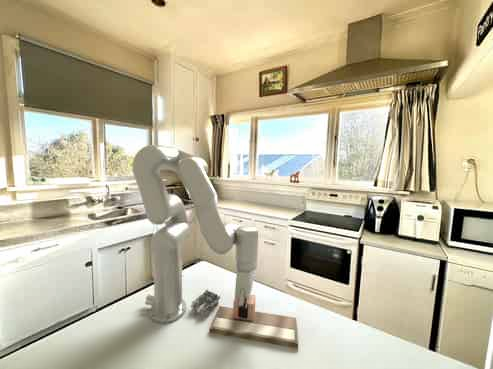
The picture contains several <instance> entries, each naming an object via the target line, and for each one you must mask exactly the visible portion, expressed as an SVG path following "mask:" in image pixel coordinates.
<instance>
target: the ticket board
mask: <svg viewBox="0 0 493 369" xmlns="http://www.w3.org/2000/svg"><path fill="white" fill-rule="evenodd" d="M208 329H209V330H208V332H209V334H214V335H220V336H221V335H222V336H227V337H232V338H238V339H244V340H248V341H255V342H260V343H266V344H273V345H278V346H284V347H287V348H288V347H289V348H296V349H299V338H298V337H299V334H298V325H297V317H294V316H293V317H292V316H287V315H281V314H274V313H267V312H261V311H255V314H254V319H253V321H250V320H244V319H238V318H233V307H229V306H220V305H219V306H218V308H217V310H216V313H215V315H214V317H213V319H212V321H211V324H210V326H209V328H208Z"/></svg>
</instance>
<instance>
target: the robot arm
mask: <svg viewBox="0 0 493 369" xmlns="http://www.w3.org/2000/svg"><path fill="white" fill-rule="evenodd" d="M131 166H132V167H131V168H132V173H133V176H134V179H135V182H136V184H137V187H138V190H139V194H140V197H141V200H142V204H143V207H144V212H145V214H146V217H147V219H148V221H149V222H150V223H151V224H152V225H155V226H157V225H163V224H164V225H165V226H162V227H161V228H160V229H158V230H157V231H156V232H155V233H154V234H153V236H152V238H151V240H150V249H151V253H152V259H153V294H148V295H146V299H145V303H144V304H145V305H147V306H151V307H150V309H149V317H150V319H151V320H152V321H153V322H156V323H159V324H160V323H161V324H165V323H171V322H173V321H174V322H175V321H176V320H178V319H179V318H181V317H183V315H184V314H185V312H186V310H187V302H186V301H185V300H184V299H183V260H182V259H183V258H182V255H181V247H182V246H184V244H185V243H186V242H187V241H188V240H189V238H190V236H191V233H192V232H191V231H192V230H191V225H190V222H189V218H188V214H187V212H186V207H185V204H184V201H183V200H182V199H181V198H180V197H179V196H178V195H176V194H174V193H169V192H168V190H167V186H166V182H165V181H164V178H163V177H162V176H161V174H160V171H167V170H169V171H172V172H174V173H177V175H178V177H179V179H180V180H181V183H182V185H183V187H184V188H185V190H186V192H187V194H188V196H189V198H190V200H191V202H192V204H193V206H194V209H195V210H194V212H195V215H196V220H197V224H198V228H199V230H200V232H201V235H202V237H203V238H204V241H205V242H206V243H207V246H208V247H209V248H210V250H211V251H212V252H214V254H218V255H225V254H227V253H229V252H230V251H231V250H232V248H233V246H235V257H234V258H235V261H234V262H235V263H234V264H235V265H234V267H235V269H236V270H237V271H236V276H235V277H236V278H235V288H234V289H235V290H234V299H238V298H239V306H238V317H240V318H247V317H248V307H247V302H248V300H249V298H250V295H252V294H251V293H252V290H253V285H254V284H253V282H254V271H255V270H256V269H258V249H259V248H258V246H259V231H258V228H256V227H255V226H252V225H237V224H234V223H231V222H229V223H228V222H225V223H223V220H222V218H221V217H220V214H219V206H218V202H219V199H218V198H219V197H218V193H217V191H216V189H215V188H214V186H213V184H212V182H211V180H210V177H209V176H208V175H207V174H208V172H209V165H208V163H207V162H206V160H204V159H203V158H202V157H199V156H196V155H194V154H192V153H191V154H190V153H188V152H185V151H183V150H180V149H177V148H174V147H171V146H165V145H159V144H150V145H146V146H143V147H142V148H141V149H139V150H138V151H137V153H136V154H135V155H134V158H133V161H132V165H131ZM244 296H246V297H244ZM244 300H246V303H244Z"/></svg>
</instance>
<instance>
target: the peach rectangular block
mask: <svg viewBox="0 0 493 369" xmlns="http://www.w3.org/2000/svg"><path fill="white" fill-rule="evenodd" d="M244 297H246V296H244ZM256 297H257V296H256V295H254V294H250V298H249V300H248V302H247V307H248V317H247V318H240V317H238V306H239V298H238V299H235V298H234V299H233V303H232V304H233V305H232V306H233V307H232V308H233V318H238V319H244V320H250V321H253V319H254V314H255V312H256V299H257V298H256ZM244 303H246V300H244Z"/></svg>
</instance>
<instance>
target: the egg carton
mask: <svg viewBox="0 0 493 369" xmlns="http://www.w3.org/2000/svg"><path fill="white" fill-rule="evenodd" d="M220 299H221V295H218V294H217V293H215V292H213V291H210V290H208V289H205V291H204V292H203V293H201V294H200V295H199V296H198V297H196V298H195V299H194V300H192V301H191V304H190V308H192V314H193V315H195V316H196V315H197V314H199V315H200V317H201V318H205V317H209V316H210V312H213V311H214V309H215V306H218V305H219V304H220ZM204 303H205V307H202V308H200V305H203V304H204Z"/></svg>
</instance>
